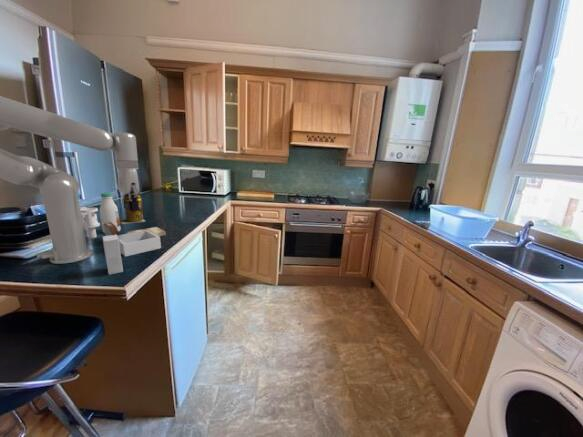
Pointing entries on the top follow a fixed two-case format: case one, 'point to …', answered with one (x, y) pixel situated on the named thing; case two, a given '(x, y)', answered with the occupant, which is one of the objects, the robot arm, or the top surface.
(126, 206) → the condiment
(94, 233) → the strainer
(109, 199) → the milk bottle
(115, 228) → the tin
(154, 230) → the board
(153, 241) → the bin
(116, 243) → the skincare box
